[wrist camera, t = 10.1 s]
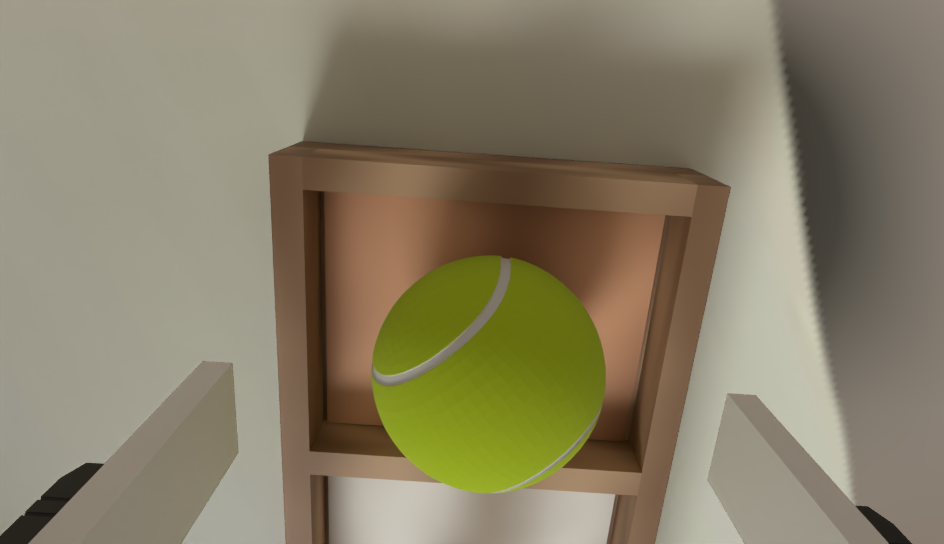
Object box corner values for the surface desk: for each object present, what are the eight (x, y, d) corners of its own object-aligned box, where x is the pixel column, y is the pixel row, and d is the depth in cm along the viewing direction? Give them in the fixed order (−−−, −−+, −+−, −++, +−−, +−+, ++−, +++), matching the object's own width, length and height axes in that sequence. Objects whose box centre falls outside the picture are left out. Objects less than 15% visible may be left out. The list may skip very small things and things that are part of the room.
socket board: (313, 607, 28) (291, 679, 25) (302, 141, 21) (268, 154, 18) (604, 625, 28) (621, 699, 25) (691, 168, 21) (730, 186, 18)
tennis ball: (353, 305, 21) (289, 409, 15) (510, 191, 20) (518, 247, 13) (470, 440, 23) (461, 589, 16) (623, 343, 21) (682, 463, 15)
